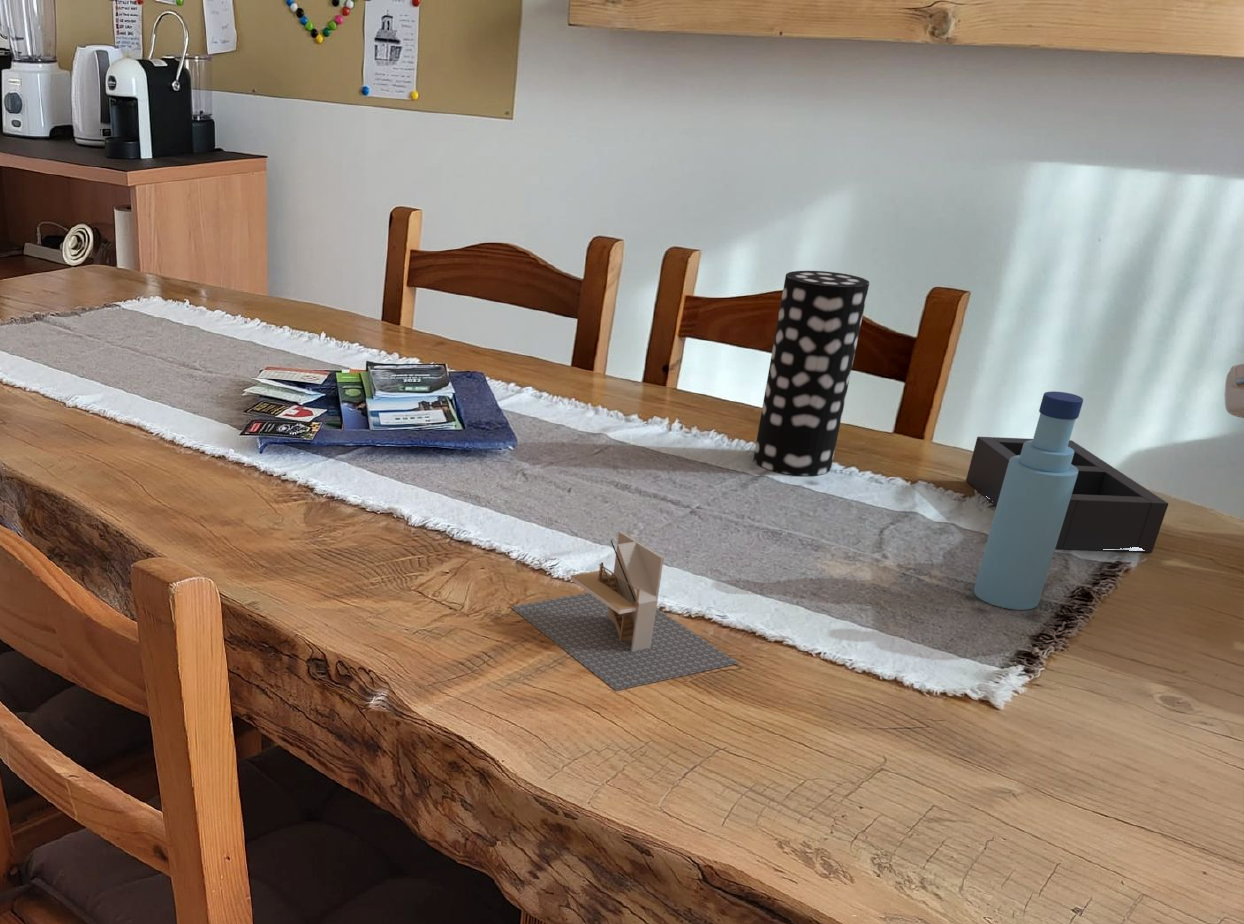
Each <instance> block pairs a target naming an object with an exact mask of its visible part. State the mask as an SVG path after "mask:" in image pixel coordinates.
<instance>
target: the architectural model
mask: <svg viewBox="0 0 1244 924" xmlns="http://www.w3.org/2000/svg"><path fill="white" fill-rule="evenodd" d="M610 543H611V546H612V549H613V551H614V554H615V559H614V568H613V572H612V570H610V569H608V568H607V567H605V566H604V562H603V561H602V562H600V563H598V565H599V570H594V571H588V572H583V573H577V574H571V575H570V581H572V582H573V583H574V584H576V585H577V586H578V587H580V588H582V589H583V590H584V591H586V592H582V593H577V594H573V595H567V596H561V597H556V598H550V599H545V600H540V601H533V602H529V603H528V602H527V603H523V604H518V605H511V606H510V608H511V609H513V611H515V612H516V613H517V614H518V615H520V616H521V617H522V618H524V619H525V620H526V621H527V622H528V623H530V624H531V625H532V626H533V627H535V628H536V629H538V630H539V631H540V632H541V633H542V634H543V635H545V636H547V638H549V639H550V640H551V641H553V642H554V643H555V644H557V645H558V646H559V647H560V648H562V650H564V651H565V652H567V653H568V654H569V655H570V656H572V657H573V658H574V659H575V660H577V661H578V662H579V663H581V665H583V666H585V668H587V669H588V670H590V671H591V672H592V673H593V674H595V676H597V677H598V678H599V679H601V680H602V681H604V682H605V683H606V684H607V685H608V686H610V687H611V688H612V689H613V690H614V691H621V690H625V689H629V688H633V687H634V688H635V687H638V686H643V685H647V684H651V683H656V682H660V681H666V680H670V679H675V678H678V677H683V676H688V675H693V674H697V673H702V672H706V671H711V670H715V669H720V668H723V667H724V668H725V667H728V666H732V665H737V664H739V662H738V661H737V660H735V659H734V658H732V657H731V656H729V655H728V654H726V652H725V653H724V652H723V651H722V650H721V649H719V648H718V647H715V646H714V645H713V644H711V643H710V642H708V641H707V640H706V639H704V638H702V637H701V636H699V635H698V634H696V633H695V632H694V631H692V630H690V629H689V628H687V626H684V625H683V624H682V623H680V622H679V621H677V620H676V619H674V618H673V617H671V616H669V615H668V614H667V613H665V612H664V611H662V610H661V609H659V608H658V607H657V606H658V597H659V592H660V586H661V579H662V572H663V566H664V558H665V557H664V556H663V555H660V554H659V553H658V552H655V551H653V550H652V549H650V548H649V547H647V546H646V545H644V544H642V543H640V542H639V541H637V540H636V539H634V538H632V537H631V536H629V535H628V534H626V533H625V532H623V531H619V532H618V536H617V544H616V548H615V544H614V543H613V540H612V539H611V540H610Z"/></svg>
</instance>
